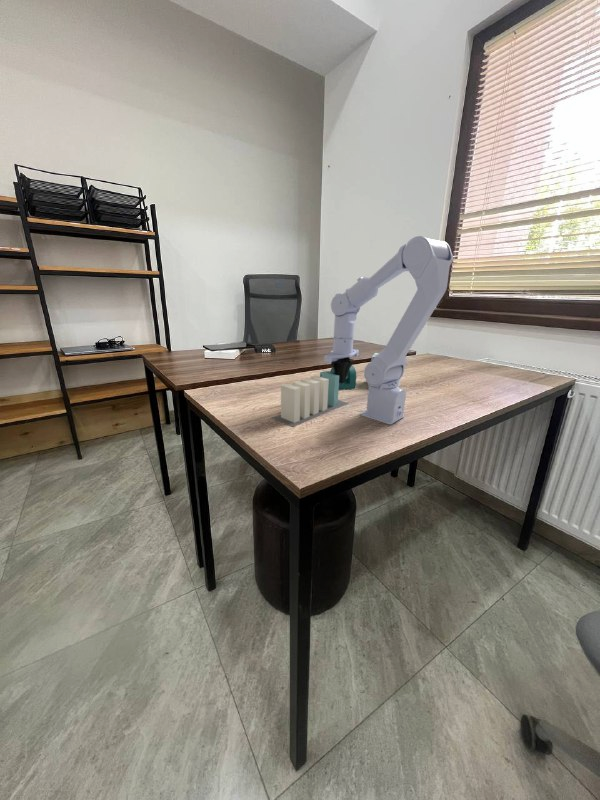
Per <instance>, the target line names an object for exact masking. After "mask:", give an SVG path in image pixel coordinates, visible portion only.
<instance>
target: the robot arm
mask: <svg viewBox="0 0 600 800" xmlns="http://www.w3.org/2000/svg"><path fill="white" fill-rule="evenodd" d="M453 261H454V256H453V253H452V249H451V246H450V245H449V243H448V242H446V241H444V240H437V239H432V238H429V237H426V236H422V235H418V236H414V237H412V238H411V239H409V240H408V241H407V243H405V244H403V245H401V246H400V248H399V249H398V251H397V252H396V254H395V255H393V257H392V258H391V259H389V260H388V261H387V262H386V263H385V264H384V265H382V266H381V267H380V268H379V269H378V270H377V271H375V273H374V274H373V275H371V276H370V277H369V276H360V277H359V278H358V279H356V280H357V282H355V284H353V285H352V286H351V287H350V288H349V287H348V288H346V289H345V291H344V292H343V293H342V292H341V293H339V292H338V293H336V294H334V296H333V297H332V300H331V302H330V308H331V311H332V312H331V313H332V314H333V315H334V323H333V325H334V326H333V328H334V329H333V346H332V350H330V351H329V352H330V353H328V354H326V355H323V356H324V359H323V361H324V363H327V364H331V367H333V368H334V371H335V375H338V376H339V383H345V380H346V377H347V374H348V371H349V369H350V367H351V365H353V364H354V359H352V358H353V357H359V356H360V350H359V349H355V348H354V347H353V346H354V338H355V337H354V336H355V335H354V334H355V322H356V320H357V316H358V313H359V312H360V310H361V307H362V306H364V305H365V304H367V303H368V302H369V301H371V300H372V299H373V298H375V297H376V296H377V295H378V293H379V288H381V287H383V286H384V285H386V284H388V283H389V282H391V281H392V280H393V279H395V278H397V277H398V276H400V275H401V274H402V273H404V272H409V274H410V275H411V276H412V278H413V279H414V282H415V284H416V288H417V290H416V292H415V293H414V296H413V297H412V299H411V301H410V302H409V305H408V306H407V308H406V310H405V311H404V313H403V315H402V317H401V318H400V321H399V322H398V323H397V326H396V328H395V330H394V331H393V333H392V335H391V337H390V338H389V341H388V342H387V344H386V346H385V347H384V348H383V349H382V350H381V351H379V352H378V353H379V354H377V355H376V356H375V358H374V359H373V361H372V362H371V361H370V362H369V363H367V364H366V366H365V367H364V371H363V373H364V379H365V381H366V382H367V386H368V391H367V403H366V410H364V411H362V412H360V413H359V415H360V416H363V417H365V418H369V419H371V420H374V421H378V422H380V423H384V424H387V425H390V426H391V425H393V424H394V423H395V422H397V421H399V420H401V419H403V418H404V417H405V415H404V412H405V405H406V396H407V394H406V390H405V389H402V388H400V387H397V384H398V380H399V379H400V378H401V379H402V378H403V376H404V373H405V367H406V365H407V363H408V359H407V358H406V356H407V354H408V353H409V351H410V349H411V348H412V346H413V345H414V344H415V341H416V340H417V339H418V336H419V335H420V334H421V332H422V330H423V328H424V327H425V325H426V324H427V322H428V321H429V319H430V317H431V316H432V314H433V312H434V311H435V309H436V308H437V306H438V305H439V303H440V301H441V299H442V298H443V296H444V295H445V293H446V291H447V288H448V284H449V283H448V282H449V274H450V269H451V268H450V266H451V265H452V263H453Z"/></svg>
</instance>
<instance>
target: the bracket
mask: <svg viewBox="0 0 600 800" xmlns="http://www.w3.org/2000/svg"><path fill="white" fill-rule="evenodd" d="M322 373H330V374H334V375H335V371H334V368H333V366H331V368H330V370H324V371H320V373H319V377H322ZM356 383H357V371H356V368H355V366H354V365H353V364H352V365H351V367H350V369H349V371H348V374H347V377H346V380H345V383H339V390H346V391H348V390H347V389H349V390H355V389H356V387H357V386H356ZM339 390H338V391H339Z"/></svg>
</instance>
